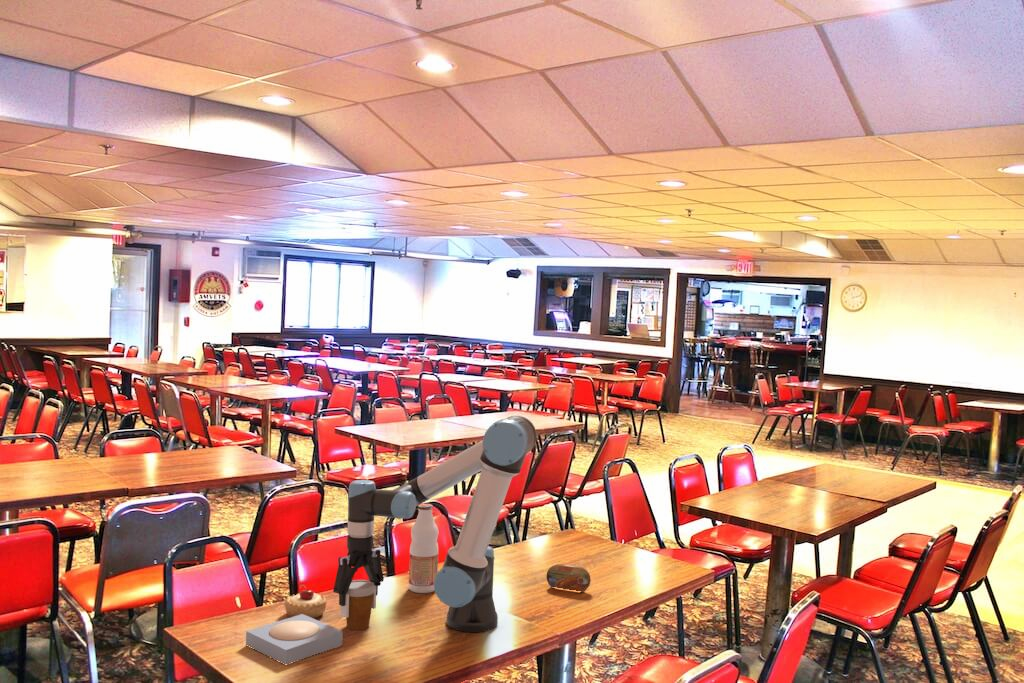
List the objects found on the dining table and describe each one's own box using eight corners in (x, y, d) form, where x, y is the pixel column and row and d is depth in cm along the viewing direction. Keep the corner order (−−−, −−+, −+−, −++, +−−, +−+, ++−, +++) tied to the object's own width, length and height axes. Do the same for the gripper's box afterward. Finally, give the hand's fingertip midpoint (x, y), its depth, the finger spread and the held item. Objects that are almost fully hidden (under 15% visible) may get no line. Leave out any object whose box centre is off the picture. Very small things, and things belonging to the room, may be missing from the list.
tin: (545, 588, 272) (546, 563, 272) (548, 585, 275) (549, 561, 275) (588, 595, 266) (589, 570, 266) (591, 592, 269) (592, 567, 269)
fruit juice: (418, 595, 260) (421, 509, 259) (403, 587, 267) (405, 504, 266) (442, 590, 266) (445, 506, 265) (426, 582, 273) (429, 500, 272)
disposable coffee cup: (367, 633, 226) (368, 591, 226) (335, 629, 228) (337, 587, 228) (379, 621, 236) (380, 581, 236) (349, 618, 238) (350, 578, 238)
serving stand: (342, 645, 218) (342, 629, 218) (285, 665, 204) (286, 648, 204) (301, 627, 229) (302, 612, 229) (245, 645, 215) (246, 629, 215)
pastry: (304, 626, 232) (305, 596, 231) (276, 616, 238) (276, 587, 237) (334, 613, 242) (335, 584, 241) (306, 604, 248) (307, 576, 247)
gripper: (380, 525, 243) (378, 599, 243) (321, 539, 225) (318, 618, 226) (397, 530, 238) (395, 605, 238) (338, 544, 221) (335, 625, 221)
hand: (358, 611), depth 232 cm, fingers closed on disposable coffee cup, 9 cm apart
